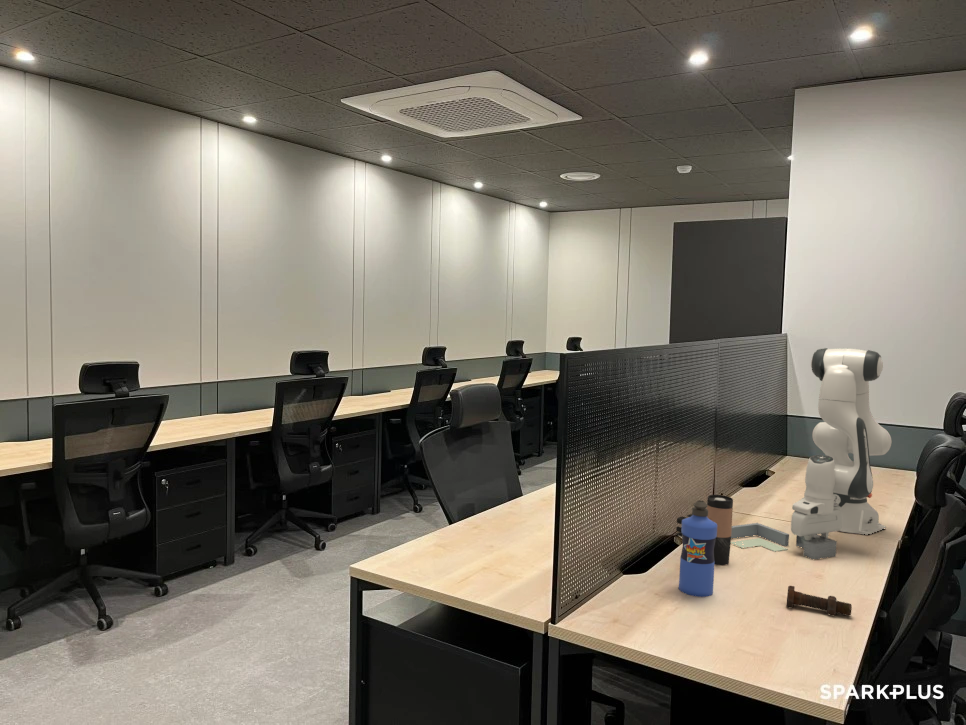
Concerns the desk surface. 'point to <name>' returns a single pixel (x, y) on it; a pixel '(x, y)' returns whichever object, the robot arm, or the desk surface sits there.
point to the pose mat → (759, 544)
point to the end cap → (679, 520)
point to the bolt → (817, 602)
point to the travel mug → (721, 526)
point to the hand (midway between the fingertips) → (815, 546)
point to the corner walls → (760, 533)
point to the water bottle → (697, 552)
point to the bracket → (817, 546)
